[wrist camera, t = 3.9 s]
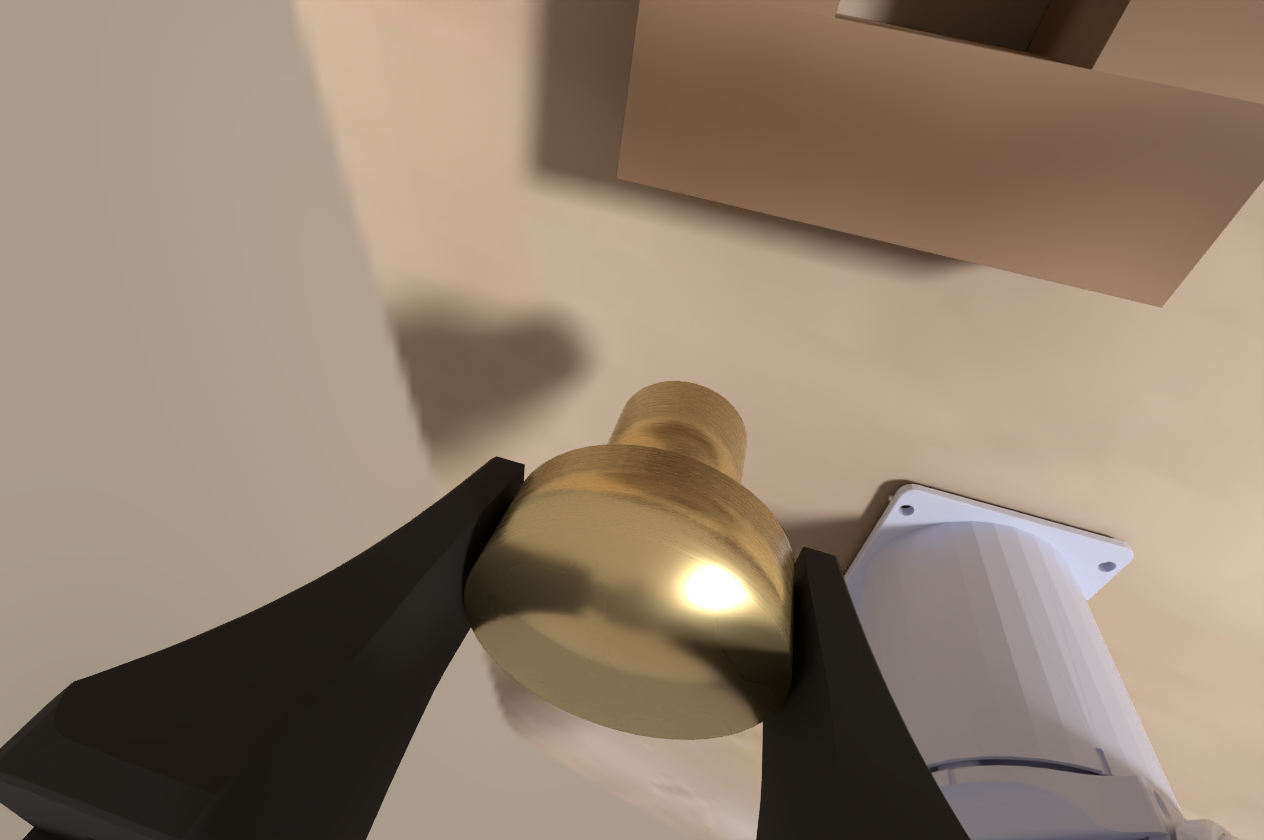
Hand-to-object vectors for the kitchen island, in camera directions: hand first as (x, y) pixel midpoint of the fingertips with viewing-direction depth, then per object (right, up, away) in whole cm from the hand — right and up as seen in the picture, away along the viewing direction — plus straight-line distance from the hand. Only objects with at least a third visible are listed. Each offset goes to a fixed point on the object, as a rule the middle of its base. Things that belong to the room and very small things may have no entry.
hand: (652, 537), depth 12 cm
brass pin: (+1, +2, +3) cm, 3 cm away
